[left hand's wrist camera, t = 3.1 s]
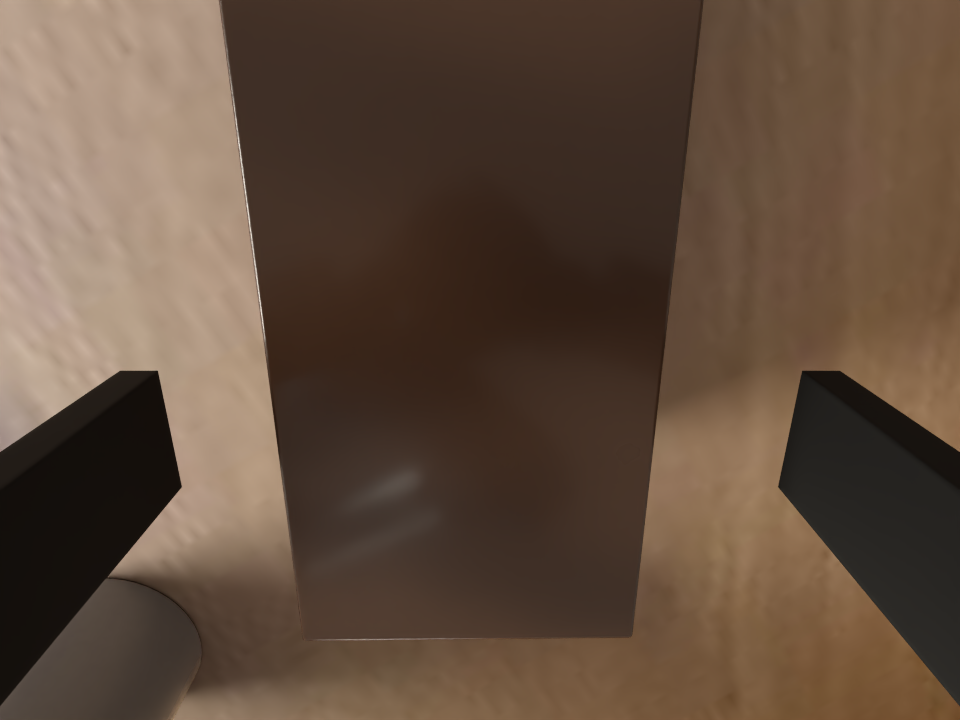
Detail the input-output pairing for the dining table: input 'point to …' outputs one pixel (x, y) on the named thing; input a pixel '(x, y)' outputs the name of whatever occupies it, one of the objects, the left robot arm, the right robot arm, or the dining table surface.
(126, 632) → the grey cylinder
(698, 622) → the dining table surface
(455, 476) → the walnut box
